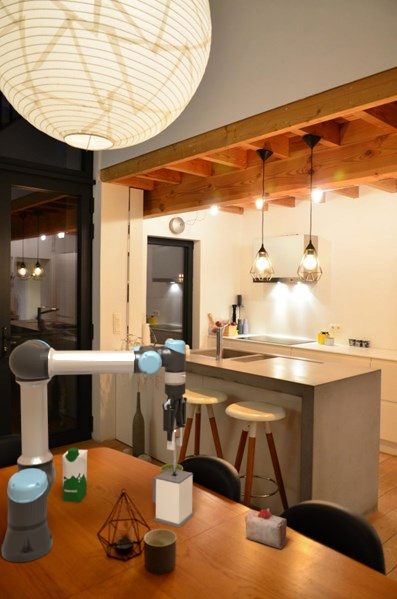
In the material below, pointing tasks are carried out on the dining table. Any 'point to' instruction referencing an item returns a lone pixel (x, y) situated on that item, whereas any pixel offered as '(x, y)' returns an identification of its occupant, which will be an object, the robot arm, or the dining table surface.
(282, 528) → the food item
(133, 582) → the dining table surface
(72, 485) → the milk carton
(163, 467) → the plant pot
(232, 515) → the dining table surface
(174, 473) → the plunger
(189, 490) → the tall white box
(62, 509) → the dining table surface
